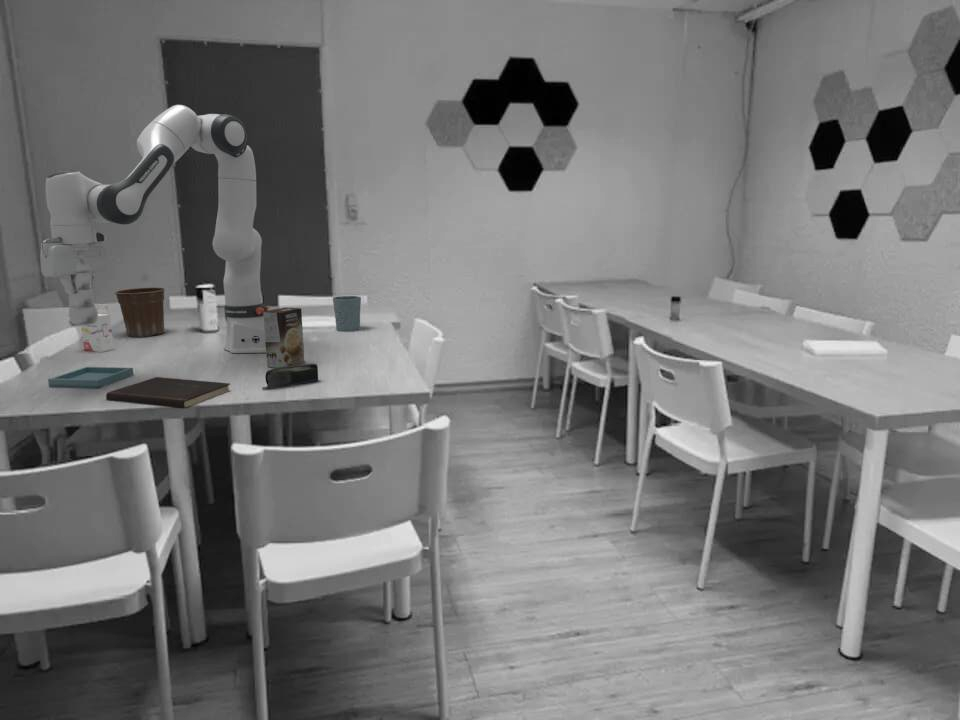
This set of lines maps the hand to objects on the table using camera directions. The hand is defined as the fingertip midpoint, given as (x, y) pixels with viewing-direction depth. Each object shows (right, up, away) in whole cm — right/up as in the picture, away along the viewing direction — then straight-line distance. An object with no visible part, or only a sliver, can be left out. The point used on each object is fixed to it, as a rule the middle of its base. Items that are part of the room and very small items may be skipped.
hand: (80, 291), depth 175 cm
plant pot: (-18, -9, +71) cm, 74 cm away
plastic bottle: (0, -9, +2) cm, 9 cm away
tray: (0, -23, +5) cm, 24 cm away
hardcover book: (+27, -27, -9) cm, 40 cm away
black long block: (+55, -24, -1) cm, 60 cm away
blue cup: (+54, -7, +76) cm, 94 cm away
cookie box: (+47, -19, +21) cm, 55 cm away
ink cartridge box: (-20, -15, +45) cm, 51 cm away
